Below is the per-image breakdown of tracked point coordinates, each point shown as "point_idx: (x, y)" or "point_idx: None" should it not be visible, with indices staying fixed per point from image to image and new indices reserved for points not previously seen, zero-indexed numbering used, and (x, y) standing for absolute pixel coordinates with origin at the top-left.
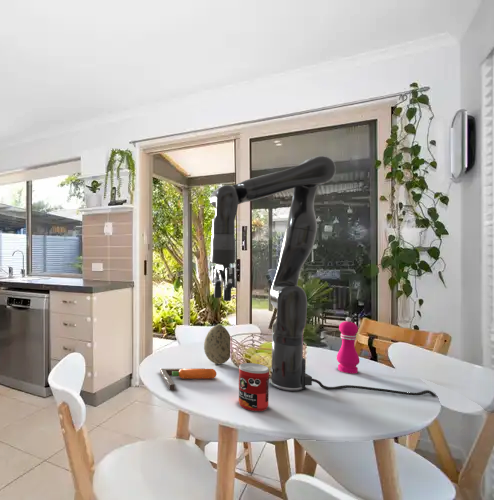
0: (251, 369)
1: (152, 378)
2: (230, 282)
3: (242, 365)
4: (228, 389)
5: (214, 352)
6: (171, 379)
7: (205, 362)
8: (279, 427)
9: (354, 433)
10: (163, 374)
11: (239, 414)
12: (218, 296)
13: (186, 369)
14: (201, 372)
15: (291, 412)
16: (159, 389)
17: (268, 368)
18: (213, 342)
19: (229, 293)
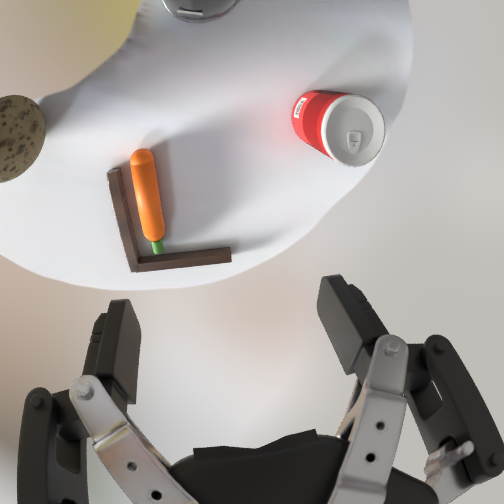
0: (362, 142)
1: (165, 280)
2: (399, 388)
3: (337, 153)
4: (221, 134)
5: (38, 149)
6: (200, 257)
7: None
8: (390, 119)
9: (410, 28)
10: (168, 268)
11: None
12: (133, 317)
13: (153, 227)
14: (155, 190)
15: (346, 61)
16: (225, 271)
17: (370, 100)
18: (21, 160)
19: (374, 320)
